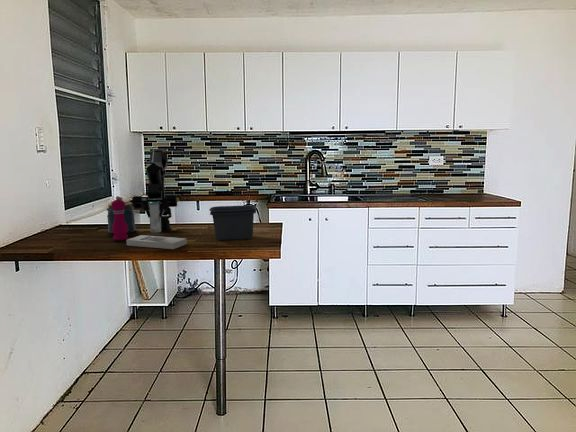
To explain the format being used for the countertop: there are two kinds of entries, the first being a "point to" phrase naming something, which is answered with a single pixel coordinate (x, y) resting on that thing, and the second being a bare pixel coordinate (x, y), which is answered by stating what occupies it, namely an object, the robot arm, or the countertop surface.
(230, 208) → the storage bin
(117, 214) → the pepper mill
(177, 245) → the white flat box
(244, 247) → the countertop surface
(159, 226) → the sleeve
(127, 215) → the canister
